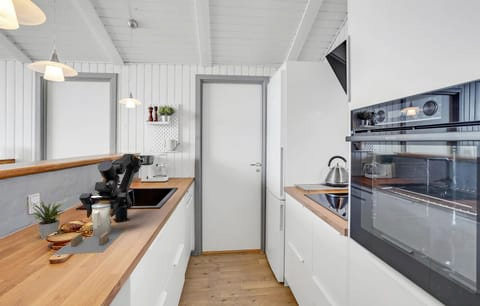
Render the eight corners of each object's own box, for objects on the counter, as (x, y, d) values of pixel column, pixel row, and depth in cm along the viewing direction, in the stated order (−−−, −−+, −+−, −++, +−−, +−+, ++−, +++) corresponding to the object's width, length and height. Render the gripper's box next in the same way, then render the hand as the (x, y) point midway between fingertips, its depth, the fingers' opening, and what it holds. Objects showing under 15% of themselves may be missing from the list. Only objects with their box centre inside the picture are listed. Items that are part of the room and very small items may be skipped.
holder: (87, 232, 105) (87, 223, 105) (126, 231, 107) (126, 221, 107) (51, 258, 81) (51, 245, 81) (103, 255, 83) (102, 243, 83)
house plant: (13, 246, 91) (11, 202, 90) (33, 233, 104) (32, 195, 104) (58, 242, 95) (57, 200, 94) (72, 230, 108) (71, 193, 108)
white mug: (96, 231, 104) (96, 203, 103) (113, 230, 105) (113, 202, 104) (86, 239, 95) (85, 208, 95) (104, 238, 96) (104, 207, 96)
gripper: (80, 174, 103) (66, 207, 92) (127, 173, 105) (118, 205, 94) (90, 189, 111) (77, 221, 100) (133, 188, 113) (126, 219, 102)
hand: (99, 217), depth 99 cm, fingers open, 9 cm apart
